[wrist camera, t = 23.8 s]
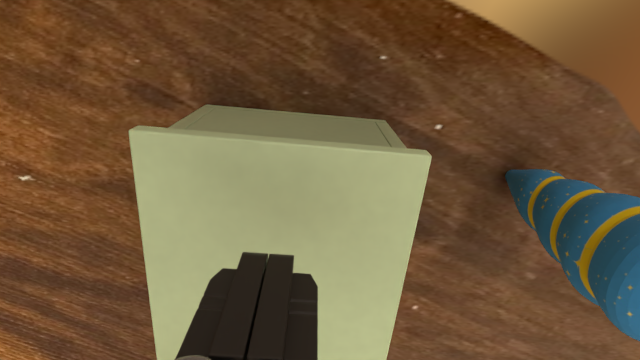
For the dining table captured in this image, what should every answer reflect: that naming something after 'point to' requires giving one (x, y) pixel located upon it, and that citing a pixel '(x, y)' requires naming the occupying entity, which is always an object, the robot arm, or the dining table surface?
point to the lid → (278, 225)
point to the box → (290, 125)
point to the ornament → (587, 238)
